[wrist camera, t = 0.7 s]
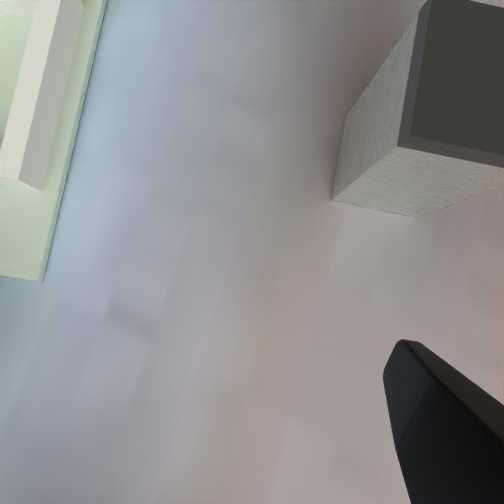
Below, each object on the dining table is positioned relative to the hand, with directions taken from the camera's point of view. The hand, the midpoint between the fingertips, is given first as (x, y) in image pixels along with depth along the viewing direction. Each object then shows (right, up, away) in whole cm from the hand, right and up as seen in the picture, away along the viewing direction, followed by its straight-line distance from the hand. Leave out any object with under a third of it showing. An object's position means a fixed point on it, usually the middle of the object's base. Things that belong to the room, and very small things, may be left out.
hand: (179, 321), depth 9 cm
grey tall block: (+8, +6, +15) cm, 18 cm away
